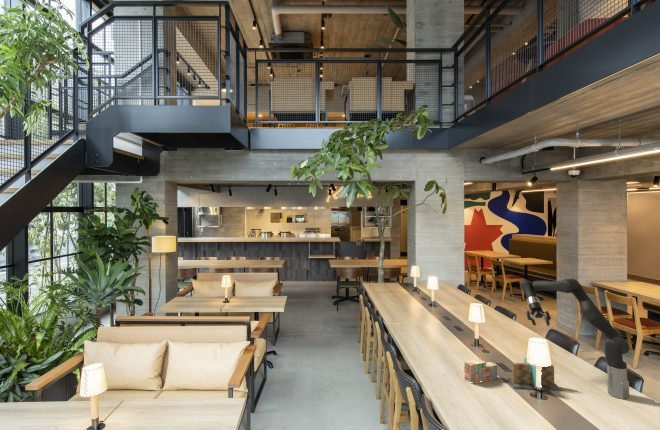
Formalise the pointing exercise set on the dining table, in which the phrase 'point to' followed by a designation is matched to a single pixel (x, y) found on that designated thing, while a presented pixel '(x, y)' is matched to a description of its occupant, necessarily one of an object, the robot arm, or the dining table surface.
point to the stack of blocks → (480, 370)
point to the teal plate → (533, 373)
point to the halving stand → (524, 377)
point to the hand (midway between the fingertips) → (541, 325)
